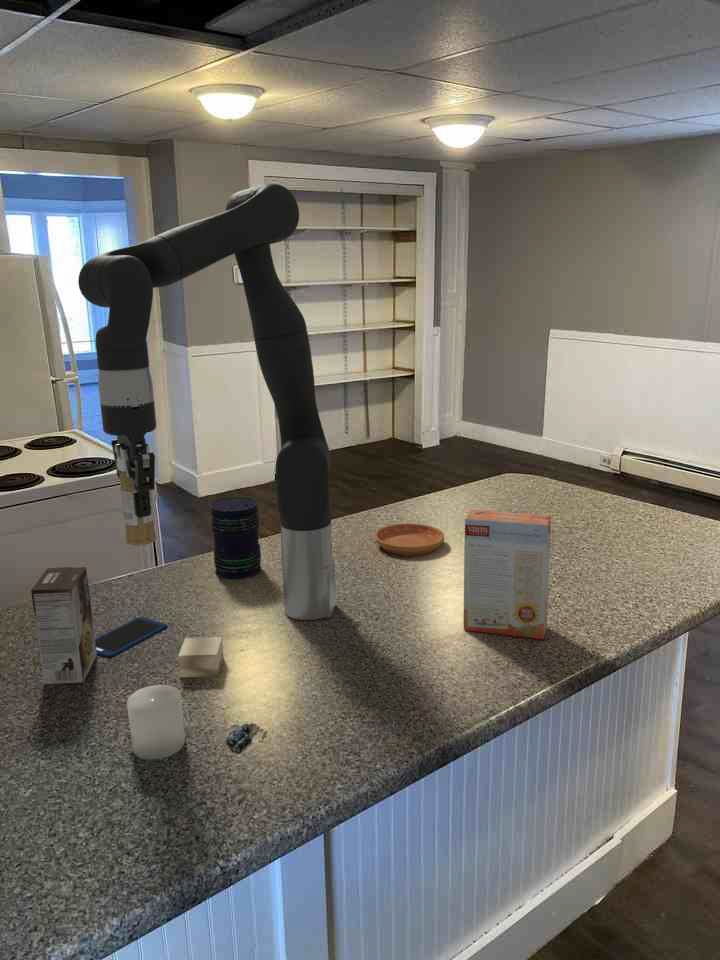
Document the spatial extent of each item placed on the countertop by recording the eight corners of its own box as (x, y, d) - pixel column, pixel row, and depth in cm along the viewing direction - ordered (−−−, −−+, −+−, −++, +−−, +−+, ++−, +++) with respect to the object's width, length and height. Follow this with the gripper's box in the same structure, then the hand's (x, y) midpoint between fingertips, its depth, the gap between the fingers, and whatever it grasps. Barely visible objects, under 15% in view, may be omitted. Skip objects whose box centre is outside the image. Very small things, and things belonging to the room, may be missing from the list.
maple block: (223, 659, 130) (221, 636, 129) (218, 677, 124) (216, 654, 123) (187, 660, 130) (185, 638, 129) (180, 678, 124) (178, 655, 123)
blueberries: (269, 727, 111) (268, 715, 110) (265, 761, 103) (265, 749, 103) (221, 729, 111) (220, 717, 110) (213, 763, 103) (212, 751, 102)
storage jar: (205, 576, 164) (200, 508, 160) (230, 560, 173) (225, 495, 169) (247, 582, 160) (242, 513, 157) (270, 565, 169) (266, 499, 165)
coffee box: (58, 657, 131) (47, 567, 127) (98, 655, 131) (87, 565, 127) (42, 685, 122) (28, 589, 118) (84, 683, 123) (72, 587, 118)
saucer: (456, 541, 182) (456, 529, 182) (423, 563, 170) (423, 550, 169) (396, 530, 191) (396, 519, 190) (361, 551, 178) (361, 538, 177)
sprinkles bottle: (160, 542, 118) (152, 456, 115) (130, 548, 116) (121, 460, 112) (150, 534, 122) (142, 450, 118) (121, 540, 120) (112, 454, 116)
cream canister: (192, 731, 109) (188, 686, 108) (174, 761, 103) (169, 714, 101) (144, 727, 110) (139, 683, 109) (123, 757, 104) (118, 711, 102)
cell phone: (79, 650, 134) (79, 646, 134) (140, 619, 145) (140, 615, 145) (109, 660, 130) (109, 656, 130) (169, 628, 142) (169, 624, 141)
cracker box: (547, 626, 139) (552, 514, 133) (543, 641, 133) (549, 524, 128) (469, 616, 143) (471, 507, 138) (462, 630, 138) (464, 517, 132)
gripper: (88, 395, 117) (100, 504, 122) (114, 409, 105) (127, 529, 110) (138, 390, 121) (148, 496, 125) (168, 403, 109) (178, 519, 114)
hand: (138, 511), depth 118 cm, fingers closed on sprinkles bottle, 4 cm apart
